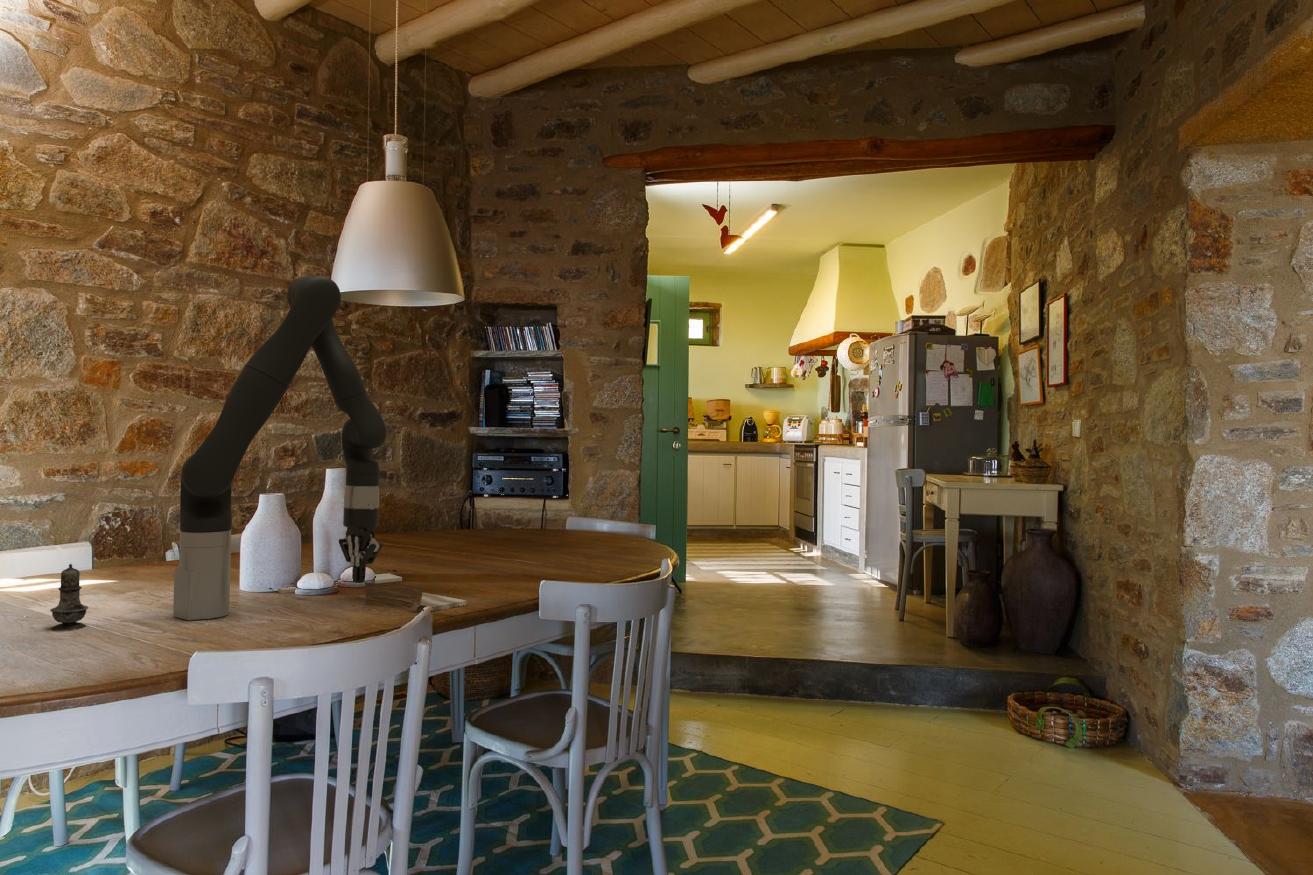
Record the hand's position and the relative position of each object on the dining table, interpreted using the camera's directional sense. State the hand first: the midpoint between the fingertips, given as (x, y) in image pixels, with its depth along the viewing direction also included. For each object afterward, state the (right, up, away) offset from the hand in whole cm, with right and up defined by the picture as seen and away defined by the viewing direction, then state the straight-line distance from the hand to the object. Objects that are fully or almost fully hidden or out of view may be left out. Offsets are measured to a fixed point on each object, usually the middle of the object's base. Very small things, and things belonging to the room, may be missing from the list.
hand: (358, 582), depth 193 cm
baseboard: (-12, -4, +19) cm, 23 cm away
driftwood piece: (+10, -5, -8) cm, 13 cm away
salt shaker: (-43, -3, -33) cm, 54 cm away
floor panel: (+14, -4, -1) cm, 14 cm away
